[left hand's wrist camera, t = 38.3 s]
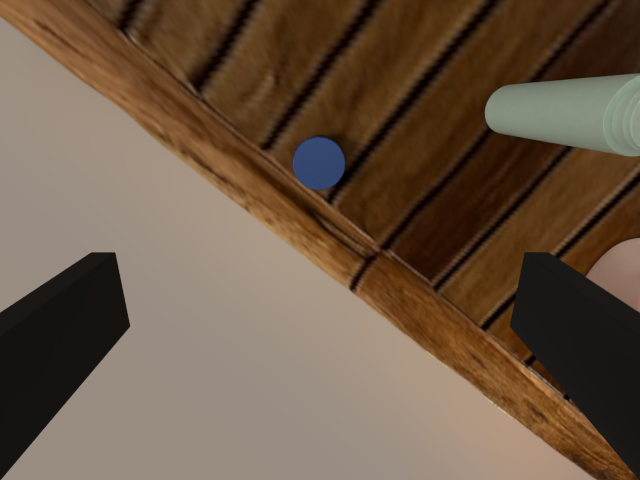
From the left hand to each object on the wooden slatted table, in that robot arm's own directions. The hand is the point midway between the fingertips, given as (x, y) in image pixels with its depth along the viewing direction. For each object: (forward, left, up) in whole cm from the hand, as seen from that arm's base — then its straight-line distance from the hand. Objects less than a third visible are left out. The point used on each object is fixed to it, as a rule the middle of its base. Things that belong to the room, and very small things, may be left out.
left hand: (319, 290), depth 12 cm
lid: (0, 0, -28) cm, 28 cm away
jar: (-15, +13, -29) cm, 35 cm away
